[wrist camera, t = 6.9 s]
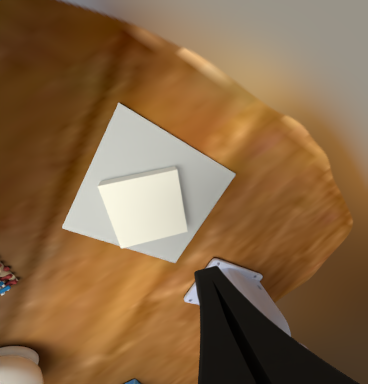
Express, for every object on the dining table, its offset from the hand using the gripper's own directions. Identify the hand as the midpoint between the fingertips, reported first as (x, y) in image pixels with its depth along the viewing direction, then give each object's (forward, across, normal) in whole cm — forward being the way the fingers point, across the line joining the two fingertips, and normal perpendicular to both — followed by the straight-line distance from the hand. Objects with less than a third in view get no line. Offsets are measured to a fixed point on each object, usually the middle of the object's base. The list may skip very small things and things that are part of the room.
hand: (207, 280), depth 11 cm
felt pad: (+10, +2, -1) cm, 11 cm away
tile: (+9, 0, 0) cm, 9 cm away
